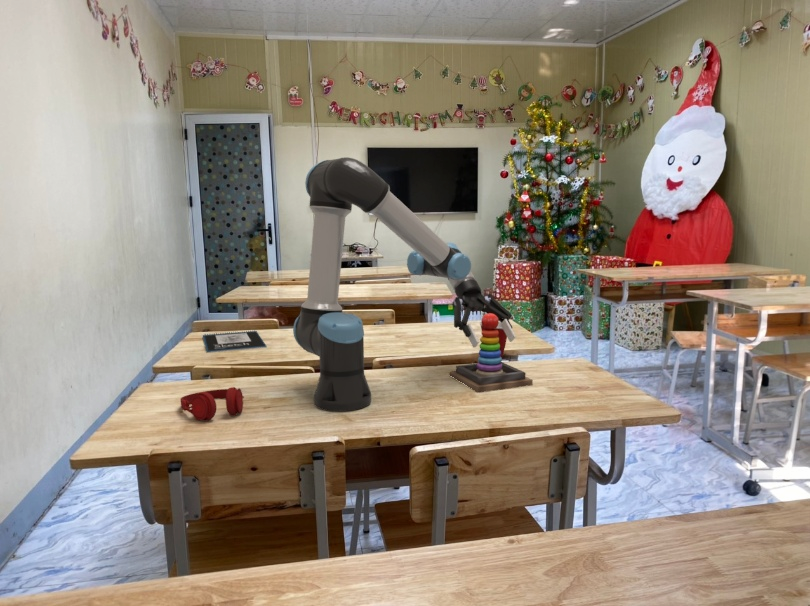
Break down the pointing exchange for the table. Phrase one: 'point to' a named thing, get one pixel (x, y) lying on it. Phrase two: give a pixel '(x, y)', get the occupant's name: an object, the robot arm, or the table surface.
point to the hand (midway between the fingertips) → (495, 342)
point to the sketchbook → (233, 341)
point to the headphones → (212, 402)
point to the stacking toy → (489, 348)
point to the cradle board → (490, 378)
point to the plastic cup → (500, 337)
